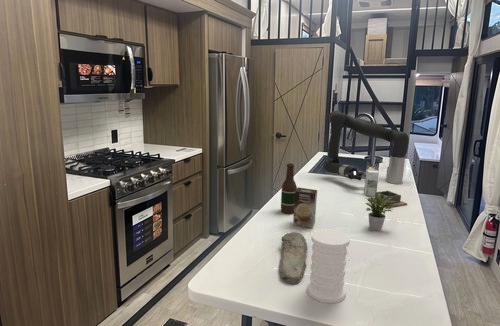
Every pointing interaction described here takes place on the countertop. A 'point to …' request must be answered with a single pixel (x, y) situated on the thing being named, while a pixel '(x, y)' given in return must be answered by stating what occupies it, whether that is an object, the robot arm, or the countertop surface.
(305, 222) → the coffee box
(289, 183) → the beer bottle
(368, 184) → the syrup box
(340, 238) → the decorative container
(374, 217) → the house plant
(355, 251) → the countertop surface
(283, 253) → the elongated rock
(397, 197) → the collar block
